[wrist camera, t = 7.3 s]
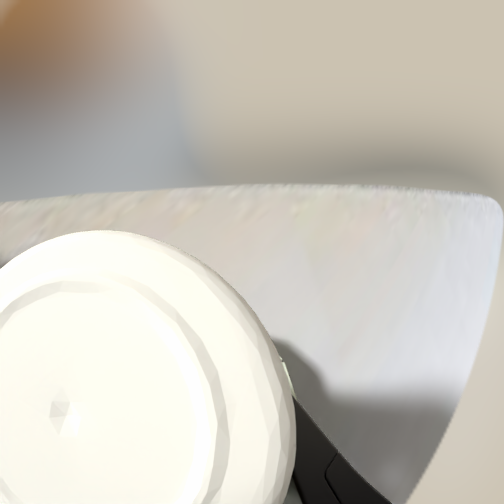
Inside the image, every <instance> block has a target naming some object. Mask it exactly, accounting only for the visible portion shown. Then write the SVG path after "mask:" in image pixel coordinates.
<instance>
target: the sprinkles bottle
mask: <svg viewBox="0 0 504 504" xmlns="http://www.w3.org/2000/svg"><path fill="white" fill-rule="evenodd" d="M295 454H296V420H295V408H294V403H293V399H292V394H291V390H290V385H289V381H288V377H287V374H286V372H285V369H284V367H283V364H282V362H281V359H280V357H279V354H278V352H277V349H276V347H275V346H274V344H273V342H272V340H271V338H270V336H269V334H268V332H267V331H266V329H265V328H264V326H263V325H262V323H261V321H260V320H259V318H258V317H257V315H256V314H255V312H254V311H253V310H252V308H251V307H250V306H249V305H248V303H247V302H246V301H245V300H244V298H243V297H242V296H241V295H240V294H239V293H238V292H237V291H236V290H235V289H234V288H233V287H232V286H231V285H230V284H228V283H227V282H226V281H225V280H224V279H223V278H222V277H221V276H220V275H219V274H218V273H217V272H215V271H214V270H212V269H211V268H209V267H208V266H207V265H205V264H204V263H202V262H201V261H200V260H198V259H197V258H195V257H193V256H191V255H189V254H188V253H186V252H184V251H182V250H180V249H179V248H176V247H174V246H172V245H169V244H167V243H164V242H162V241H159V240H156V239H153V238H151V237H148V236H143V235H138V234H134V233H130V232H121V231H85V232H77V233H72V234H67V235H64V236H60V237H57V238H54V239H51V240H48V241H46V242H43V243H41V244H38V245H36V246H34V247H32V248H30V249H29V250H27V251H25V252H24V253H22V254H20V255H19V256H17V257H15V258H14V259H12V260H11V261H10V262H9V263H7V264H6V265H5V266H4V267H2V268H1V269H0V504H283V502H284V499H285V497H286V495H287V491H288V487H289V484H290V480H291V476H292V472H293V468H294V464H295Z"/></svg>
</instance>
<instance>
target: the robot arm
mask: <svg viewBox="0 0 504 504" xmlns="http://www.w3.org/2000/svg"><path fill="white" fill-rule="evenodd" d="M292 399H293V403H294V408H295V420H296V454H295V464H294V468H293V472H292V476H291V480H290V484H289V487H288V491H287V495H286V497H285V499H284V502H283V504H392V503H391V502H390V501H388V500H387V499H386V498H385V497H384V496H383V495H381V494H380V493H379V492H378V491H377V490H376V489H374V488H373V487H372V486H371V485H370V484H369V483H368V482H367V481H366V480H365V479H364V478H363V477H362V476H361V475H359V474H358V472H357V471H356V470H355V469H354V468H353V467H352V466H351V465H350V464H349V463H348V462H347V460H346V459H345V458H344V457H343V456H342V455H341V453H338V450H337V449H336V448H335V446H334V445H333V444H332V443H331V442H330V441H329V439H328V438H327V437H326V436H325V434H324V433H323V432H322V431H321V430H320V428H319V427H318V426H317V425H316V424H315V422H314V421H313V420H312V419H311V417H310V416H309V415H308V414H307V412H306V411H305V410H304V409H303V408H302V406H301V405H300V404H299V403H298V401H297V400H296V399H295V397H294V396H293V395H292Z"/></svg>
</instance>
